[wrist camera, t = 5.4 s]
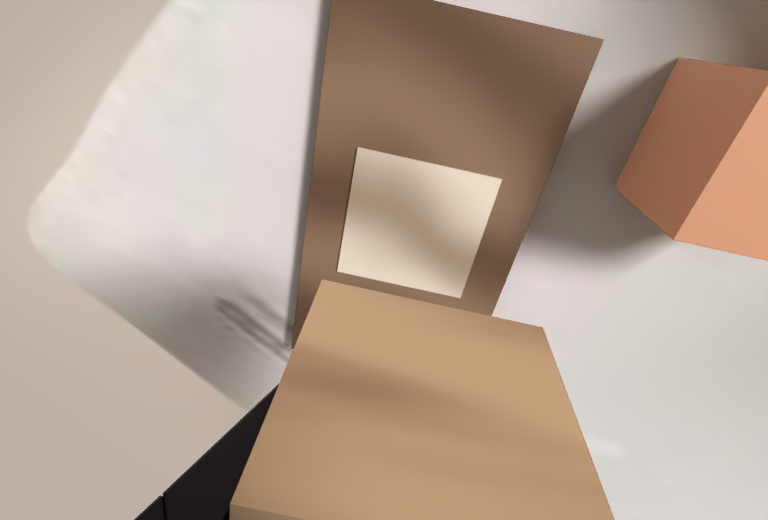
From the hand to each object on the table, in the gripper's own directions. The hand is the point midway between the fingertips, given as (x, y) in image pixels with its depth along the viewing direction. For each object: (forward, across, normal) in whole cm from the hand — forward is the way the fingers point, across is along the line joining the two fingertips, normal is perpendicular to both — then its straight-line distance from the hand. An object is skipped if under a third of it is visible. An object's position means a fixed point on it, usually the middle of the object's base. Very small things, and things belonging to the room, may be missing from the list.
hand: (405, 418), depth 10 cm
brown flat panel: (+11, 0, 0) cm, 11 cm away
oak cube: (+1, 0, 0) cm, 1 cm away
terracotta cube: (+11, -10, -6) cm, 16 cm away
